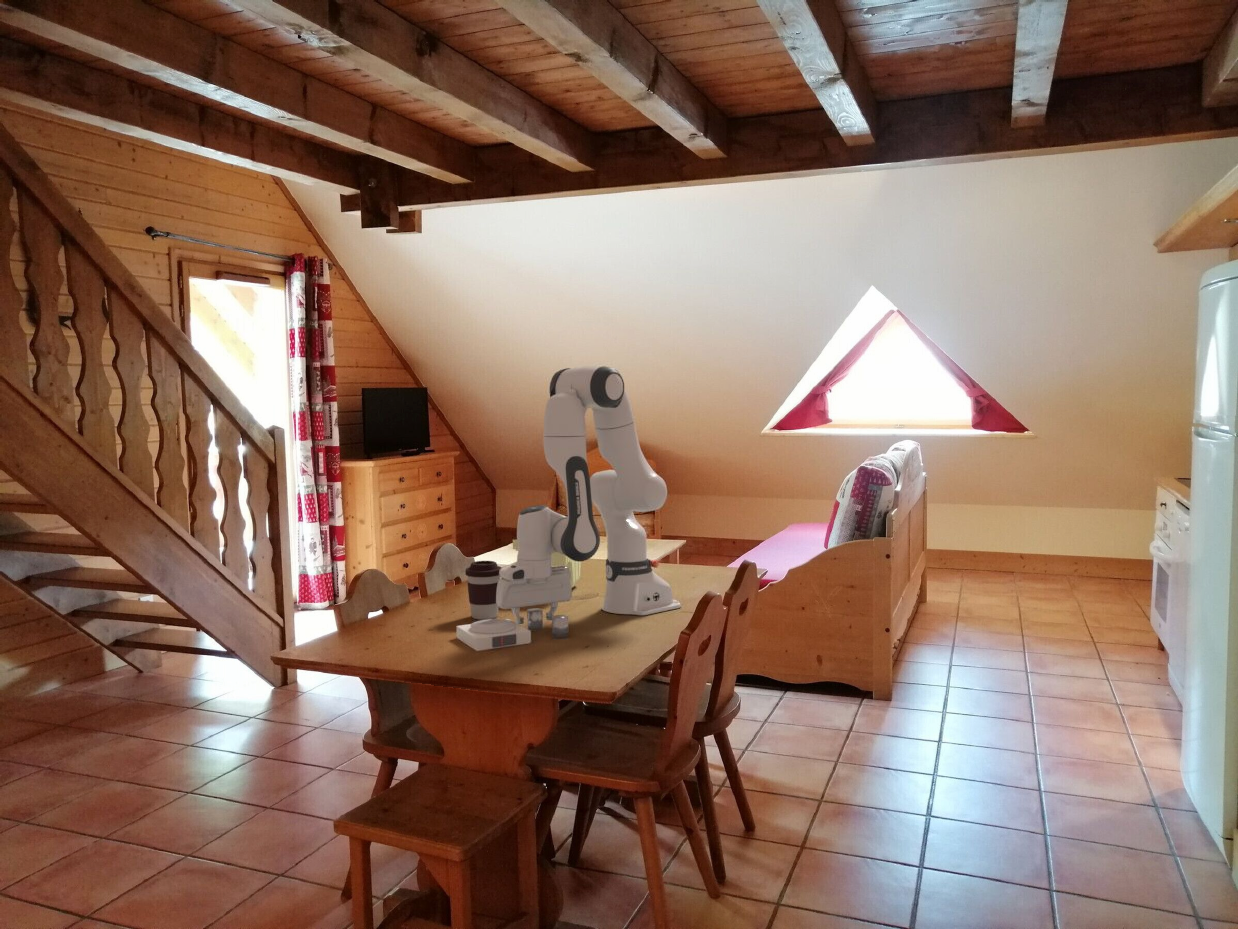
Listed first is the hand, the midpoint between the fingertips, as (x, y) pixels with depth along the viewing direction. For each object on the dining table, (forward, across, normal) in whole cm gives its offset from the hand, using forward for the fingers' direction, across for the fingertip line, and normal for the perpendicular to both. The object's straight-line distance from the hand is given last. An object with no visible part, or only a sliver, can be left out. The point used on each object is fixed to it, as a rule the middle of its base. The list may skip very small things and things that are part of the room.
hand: (534, 621), depth 245 cm
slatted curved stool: (+2, -25, -42) cm, 49 cm away
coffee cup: (+2, +6, -19) cm, 20 cm away
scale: (+2, +13, +5) cm, 14 cm away
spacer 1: (+2, 0, 0) cm, 2 cm away
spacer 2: (+2, -3, +10) cm, 10 cm away
